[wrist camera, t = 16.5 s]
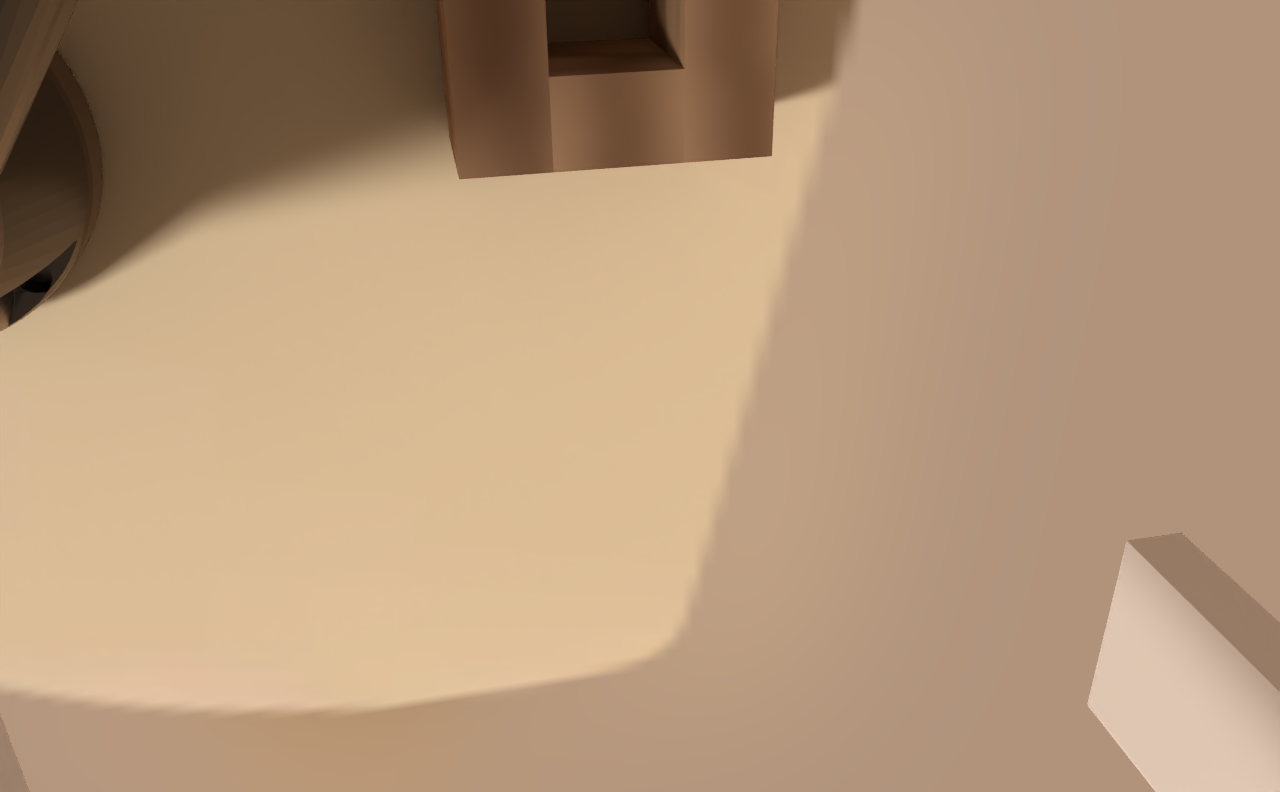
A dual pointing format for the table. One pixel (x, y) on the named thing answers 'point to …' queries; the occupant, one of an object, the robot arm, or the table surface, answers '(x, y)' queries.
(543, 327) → the table surface
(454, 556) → the table surface
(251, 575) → the table surface
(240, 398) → the table surface
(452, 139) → the wooden square socket block
